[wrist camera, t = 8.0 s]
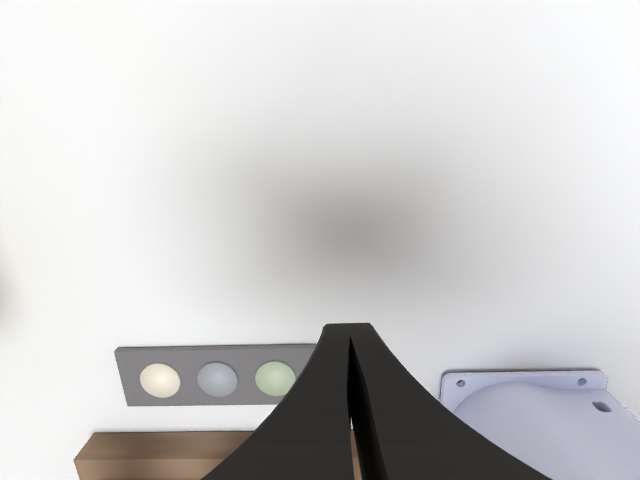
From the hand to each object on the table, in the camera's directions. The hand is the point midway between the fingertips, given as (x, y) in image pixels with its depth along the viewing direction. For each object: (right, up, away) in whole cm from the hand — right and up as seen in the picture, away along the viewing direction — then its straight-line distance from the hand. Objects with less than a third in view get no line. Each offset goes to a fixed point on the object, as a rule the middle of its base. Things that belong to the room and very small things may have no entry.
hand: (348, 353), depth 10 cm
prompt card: (-7, -5, +12) cm, 14 cm away
